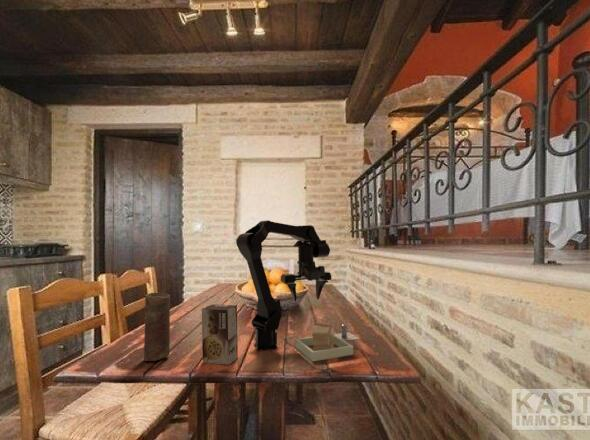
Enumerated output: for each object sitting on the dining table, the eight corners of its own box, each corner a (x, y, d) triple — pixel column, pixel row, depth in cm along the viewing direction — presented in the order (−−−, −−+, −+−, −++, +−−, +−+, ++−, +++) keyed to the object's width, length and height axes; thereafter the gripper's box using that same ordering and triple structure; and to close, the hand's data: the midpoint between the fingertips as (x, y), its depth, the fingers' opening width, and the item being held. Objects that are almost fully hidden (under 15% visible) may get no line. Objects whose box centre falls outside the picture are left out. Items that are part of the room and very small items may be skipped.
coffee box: (238, 357, 104) (238, 305, 105) (228, 365, 98) (228, 309, 99) (212, 354, 107) (212, 303, 107) (201, 362, 100) (201, 308, 101)
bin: (312, 364, 97) (312, 352, 97) (295, 349, 110) (295, 339, 110) (353, 357, 102) (353, 346, 102) (332, 344, 115) (332, 334, 115)
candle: (162, 352, 109) (162, 291, 110) (174, 357, 105) (174, 293, 106) (139, 359, 104) (139, 294, 104) (151, 365, 99) (151, 296, 100)
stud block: (339, 344, 115) (339, 328, 115) (329, 337, 122) (328, 322, 122) (359, 341, 118) (359, 325, 118) (348, 334, 125) (347, 320, 125)
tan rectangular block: (327, 354, 102) (326, 328, 103) (312, 352, 105) (312, 326, 105) (333, 349, 107) (333, 324, 107) (319, 347, 109) (319, 322, 110)
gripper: (290, 261, 116) (290, 306, 115) (337, 258, 123) (338, 301, 122) (279, 259, 126) (280, 300, 126) (324, 257, 133) (325, 296, 132)
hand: (306, 300), depth 126 cm, fingers open, 9 cm apart
